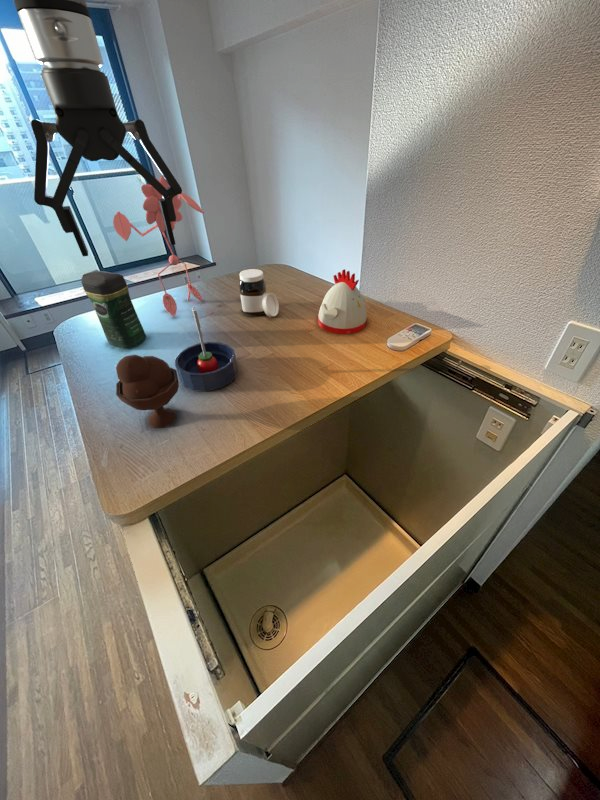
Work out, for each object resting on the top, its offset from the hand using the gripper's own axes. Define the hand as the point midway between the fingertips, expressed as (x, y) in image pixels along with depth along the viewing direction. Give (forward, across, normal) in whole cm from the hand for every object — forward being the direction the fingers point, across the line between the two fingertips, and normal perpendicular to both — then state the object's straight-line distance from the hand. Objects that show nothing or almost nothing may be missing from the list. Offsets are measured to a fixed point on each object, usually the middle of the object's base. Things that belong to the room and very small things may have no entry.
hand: (130, 248), depth 55 cm
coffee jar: (+30, -8, +26) cm, 40 cm away
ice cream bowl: (+30, -4, -10) cm, 32 cm away
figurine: (+29, +12, +36) cm, 48 cm away
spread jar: (+29, +31, +25) cm, 49 cm away
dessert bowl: (+29, +8, 0) cm, 30 cm away
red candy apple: (+29, +8, 0) cm, 30 cm away
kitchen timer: (+29, +50, +8) cm, 58 cm away
